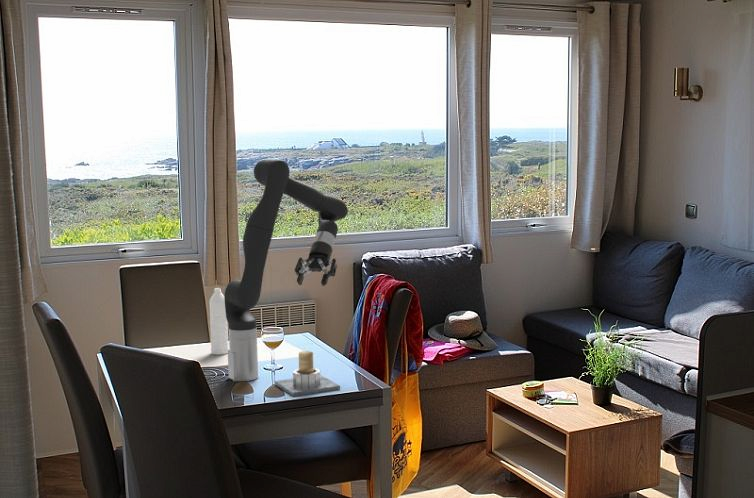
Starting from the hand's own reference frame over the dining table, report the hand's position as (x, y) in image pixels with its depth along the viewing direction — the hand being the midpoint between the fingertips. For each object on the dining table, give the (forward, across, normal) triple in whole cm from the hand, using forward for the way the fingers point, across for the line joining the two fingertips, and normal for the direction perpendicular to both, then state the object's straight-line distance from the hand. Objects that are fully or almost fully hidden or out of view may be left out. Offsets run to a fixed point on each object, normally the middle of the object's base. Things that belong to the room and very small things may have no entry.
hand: (311, 284), depth 295 cm
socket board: (+34, +5, +9) cm, 36 cm away
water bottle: (+8, -44, +35) cm, 57 cm away
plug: (+33, +5, +8) cm, 35 cm away
